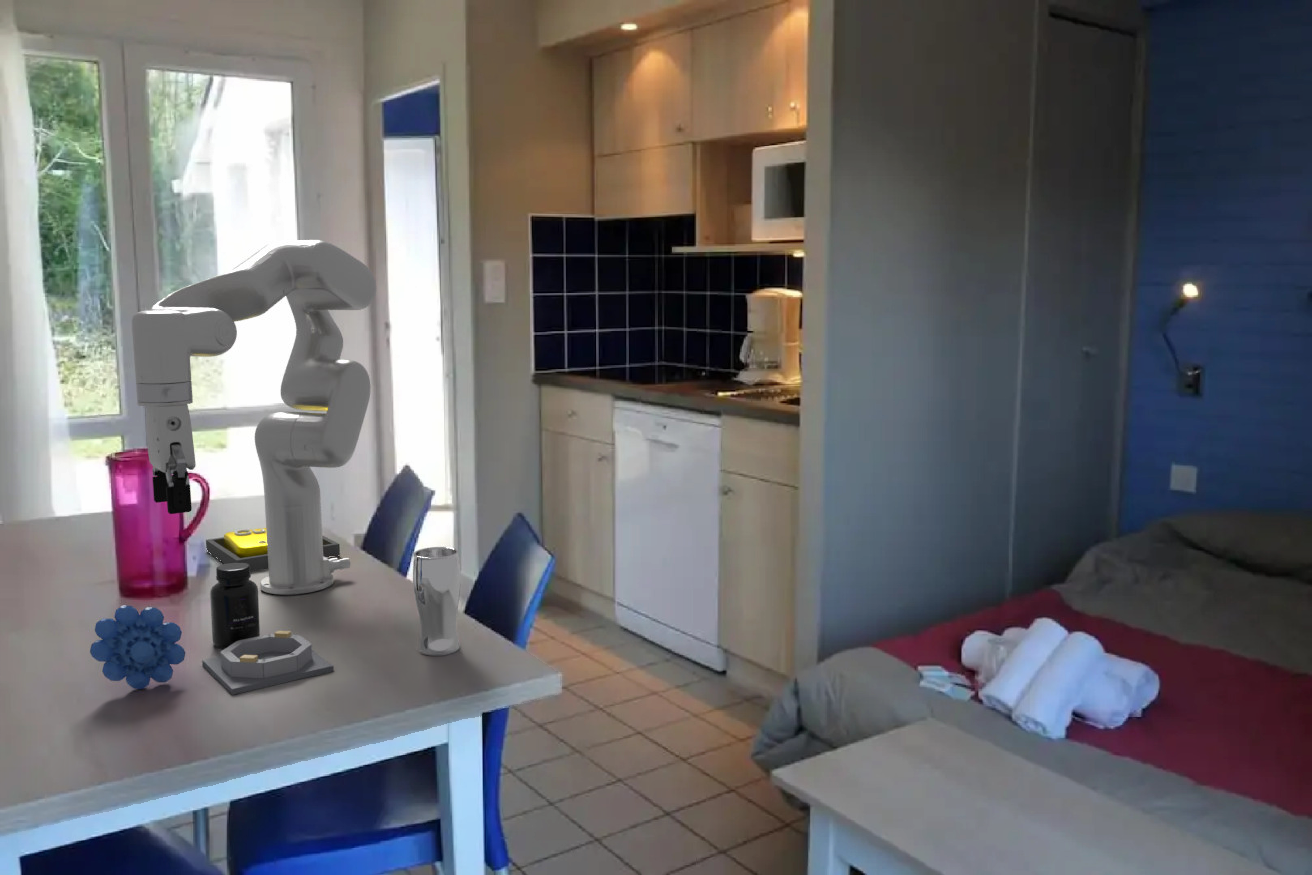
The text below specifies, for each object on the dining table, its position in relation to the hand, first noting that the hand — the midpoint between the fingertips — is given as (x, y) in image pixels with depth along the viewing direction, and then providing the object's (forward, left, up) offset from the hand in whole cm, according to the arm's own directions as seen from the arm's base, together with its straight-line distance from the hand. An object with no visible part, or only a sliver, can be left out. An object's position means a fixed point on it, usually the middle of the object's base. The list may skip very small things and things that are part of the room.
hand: (172, 506), depth 162 cm
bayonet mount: (-7, +20, -21) cm, 29 cm away
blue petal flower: (+10, +18, -21) cm, 29 cm away
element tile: (-28, -44, -22) cm, 56 cm away
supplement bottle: (-7, +6, -21) cm, 23 cm away
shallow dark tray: (-29, -43, -21) cm, 56 cm away
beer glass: (-30, +28, -21) cm, 46 cm away
